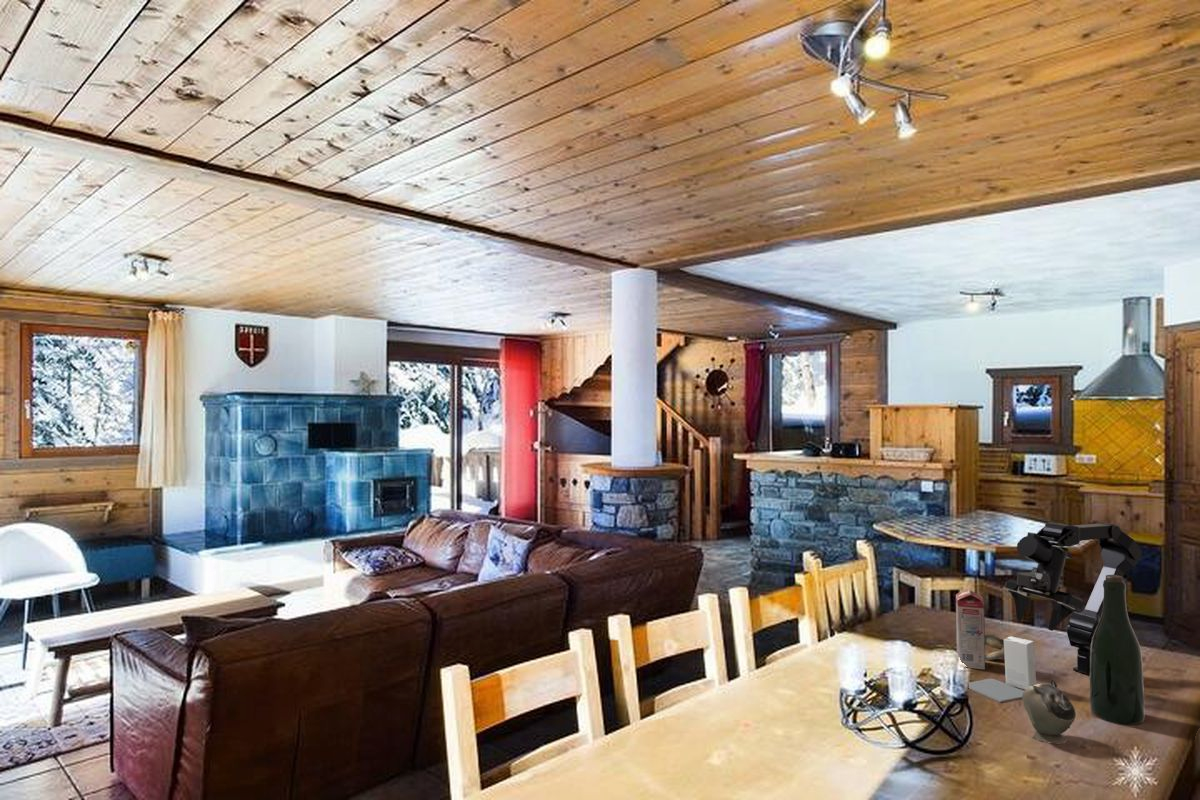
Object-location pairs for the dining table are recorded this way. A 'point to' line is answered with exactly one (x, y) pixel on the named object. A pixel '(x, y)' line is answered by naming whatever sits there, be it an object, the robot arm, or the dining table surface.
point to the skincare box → (1019, 662)
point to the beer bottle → (1116, 661)
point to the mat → (996, 690)
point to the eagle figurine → (994, 643)
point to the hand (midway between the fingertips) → (1034, 625)
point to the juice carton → (970, 629)
